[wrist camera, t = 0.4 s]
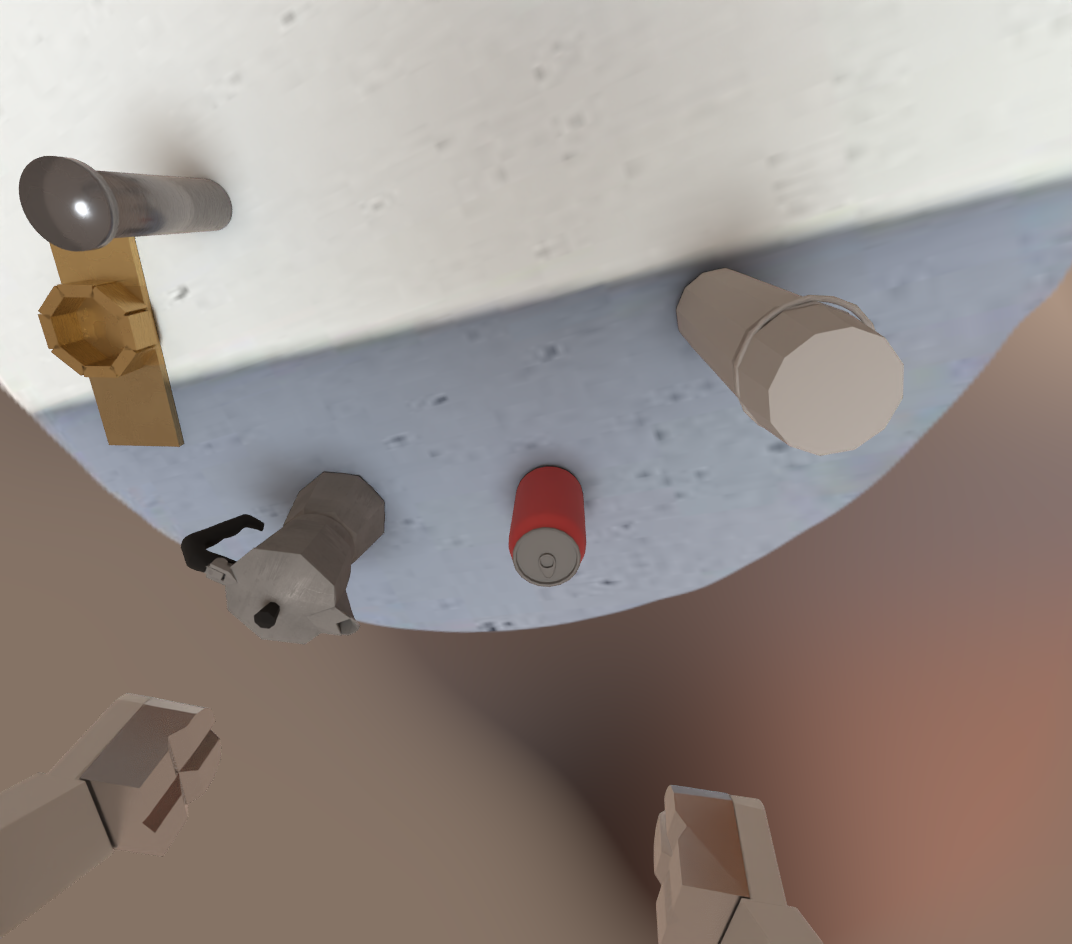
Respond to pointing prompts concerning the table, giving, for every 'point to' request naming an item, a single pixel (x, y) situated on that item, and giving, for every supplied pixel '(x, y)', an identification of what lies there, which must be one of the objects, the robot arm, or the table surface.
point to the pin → (115, 204)
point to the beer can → (548, 527)
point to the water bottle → (794, 360)
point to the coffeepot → (296, 561)
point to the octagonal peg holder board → (112, 341)
